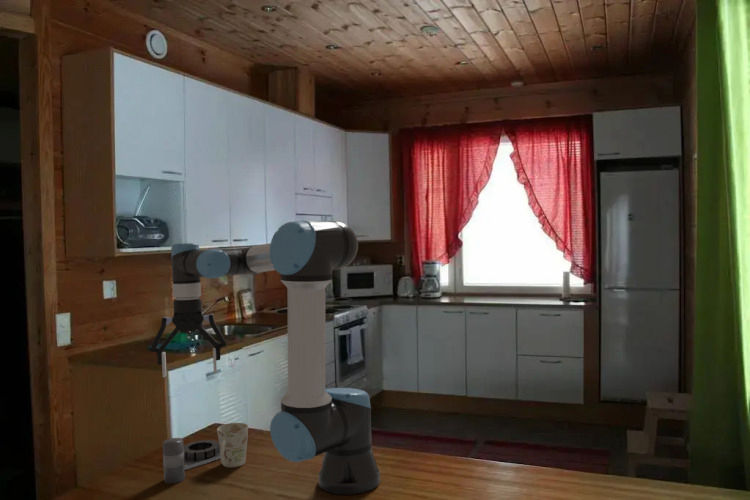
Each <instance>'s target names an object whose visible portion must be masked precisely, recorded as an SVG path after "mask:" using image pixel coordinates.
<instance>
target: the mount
mask: <svg viewBox="0 0 750 500" xmlns="http://www.w3.org/2000/svg"><path fill="white" fill-rule="evenodd" d="M183 447H184V471H187V470H190V469H193V468H197V467H200V466H203V465H206V464H209V463H213V462H215V460H216V461H218V459H219V460H221V452H220V446H219V441H217V440H213V439H212V440H210V439H206V440H205V439H203V440H195V441H191V442H188V443H186V444H183ZM212 461H213V462H212Z"/></svg>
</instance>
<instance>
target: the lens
mask: <svg viewBox="0 0 750 500" xmlns="http://www.w3.org/2000/svg"><path fill="white" fill-rule="evenodd" d="M183 446H184V439H183V438H181V437H173V438H168V439H165V440H164V441H162V463H163V479H164V484H168V485H169V484H170V485H172V484H178V483H181V482H183V481H184V480H185V478H186V476H185V475H186V472H185V471H186V470H184V447H183Z"/></svg>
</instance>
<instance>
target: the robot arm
mask: <svg viewBox="0 0 750 500" xmlns="http://www.w3.org/2000/svg"><path fill="white" fill-rule="evenodd" d="M358 250H359V241H358V237H357V235H356V233H355V231H354V230H353V229H352V228H351V227H350V226H349V225H347V224H346V223H344V222H341V221H337V220H303V219H302V220H297V221H296V220H295V221H287V222H285V223H284V224H282V225H281V226H279V227H278V229H277V231H275V232H274V234H273V235H272V238H271V240H270V243H265V244H258V245H254V246H248V247H239V248H219V249H215V248H210V249H200V245H199V243H197V242H190V243H189V242H182V243H173V244H172V245H171V251H170V252H171V256H170V262H171V279H172V280H171V281H172V285H171V286H172V287H171V289H172V298H174V300H173V301H172V304H173V305H172V306H173V307H172V309H173V310H172V311H173V315H172V317H170V316H169V317H167V316H163V317H162V318H161V325H160V327H159V330H158V332H157V333H156V336H155V338H154V341H153V342H152V345H151V347H150V352H154V353H156V354H157V365H158V366H161V368H162V369H161V370H162V378H166V377H167V359H166V358H167V357H166V356H167V355H166V351H164V350H165V349H166V347H168V345H169V344H170V343H171V341H172V340H173V338H174V337H176V335H177V334H178V333H179V332H181V333H187V332H188V333H189V332H190V333H193V332H196V331H198V332H199V333H200V334H201V335H202V336H203V337H204V338H205V339H206V340H207V341H208V342H209V343H210V344H211V345H212V346H213V348H212V356H213V357H212V359H213V360H212V361H213V373H214V374H217V372H218V370H217V361H220V360H221V349H222V348H224V347H226V346H227V341H226V339H225V338H224V335H223V333H222V332H221V330H220V328H219V326H218V325H217V324H216V321H215V317H214V314H213V313H210V314H207V315H206V314H205V315H203V313H202V312H203V311H202V299H201V298H200V297H201V296H202V291H201V290H202V289H201V288H202V286H201V283H202V282H201V278H207V279H217V278H222V277H230V276H232V277H233V276H244V275H256V274H261V273H266V272H272V271H276V272H277V273H278V274H280V282H281V283H282V284H283V285H284V286H285V287H286V290H287V392H286V393H285V394H284V395H283V396H282V397H281V399H280V412H277V413H276V414H275V415H274V416H273V418H271V420H270V426H269V430H270V437H271V439H272V443H273V445H274V447H275V449H276V450H277V451H278V453H279V454H280V455H281V456H282V457H283V458H284V459H286V460H287V461H288V462H292V463H300V462H303V461H308V460H309V461H310V460H311V459H313V458H315V457H317V456H320V455H321V454H322V455H323V459H322V464H321V468H320V471H319V472H318V487H319V488H320V489H321V490H323V491H325V492H327V493H330V494H335V495H357V494H361V493H362V494H363V493H366V492H369V491H372V490H373V489H375V488H377V487H378V486H379V485H380V484H381V483H380V482H381V478H380V477H381V476H380V475H381V474H380V469H379V468H378V465H377V461H376V459H375V456H374V452H373V445H372V414H371V413H372V410H371V409H372V406H371V401H370V395H369V394H368V392H367V391H365V390H363V389H359V388H351V387H330V388H326V288H327V286H328V285H329V284H330V283H331V282H332V281H333V271H336V270H341V269H344V268H345V267H347V266H349V265H350V264H351V263H352V262H354V259H355V258H356V257H357V253H358ZM204 320H205V321H206V322H207V323H209V325H210V327H211V328H212V330H213V332H214V334H215V335H216V337H217V339H218V341H219V342H218V341H217V340H216V339H215V338H214V336H212V335H211V334H210V333H209V332H208V331H207V330H206V329H205V327H203V325H202V323H203V321H204ZM171 323H172V324H173V325H174V326H175V328H174V329H173V330H172V331H171V333H170V334H169V335H168V337H166V339H165V340H164V341H163V343H162V344H161V345H160V346H159V347H158V345H159V342H160V340H161V338H162V336H163V335H164V331H165V330H166V327H167V326H169V325H170V324H171Z"/></svg>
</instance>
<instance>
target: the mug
mask: <svg viewBox="0 0 750 500" xmlns="http://www.w3.org/2000/svg"><path fill="white" fill-rule="evenodd" d="M216 433H217V439H218V442H219V446H220V452H221V459H220V462H221V465H222V466H223V467H225V468H237V467H240V466H243V465H245V463H246V457H247V448H248V447H247V446H248V436H249V435H248V434H249V425H248V424H247V423H244V422H231V423H230V422H229V423H226V424H222V425H220V426H218V427H217V428H216Z"/></svg>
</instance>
